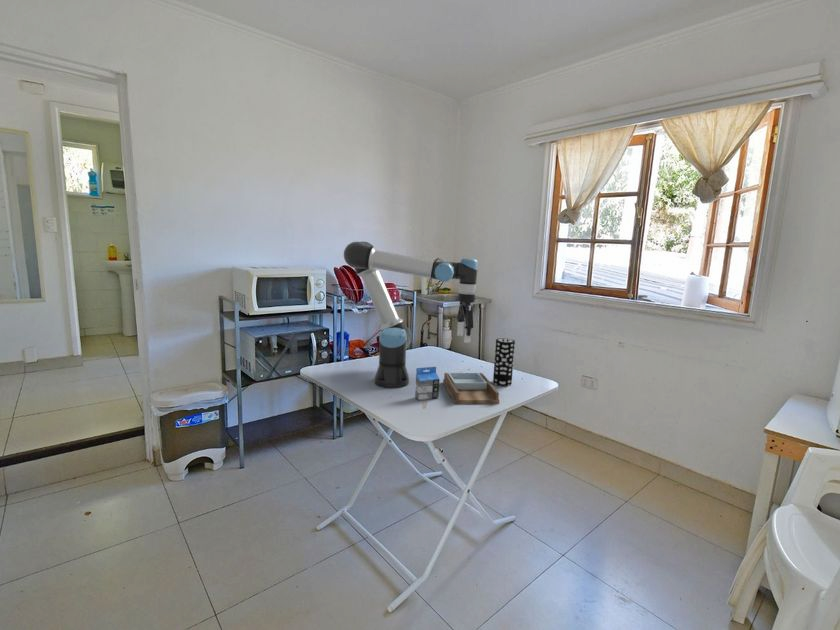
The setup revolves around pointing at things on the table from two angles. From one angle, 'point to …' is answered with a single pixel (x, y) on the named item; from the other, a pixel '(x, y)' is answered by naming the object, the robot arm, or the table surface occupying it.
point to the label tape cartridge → (427, 384)
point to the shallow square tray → (468, 381)
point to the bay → (471, 393)
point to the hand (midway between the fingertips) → (463, 339)
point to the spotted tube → (503, 362)
